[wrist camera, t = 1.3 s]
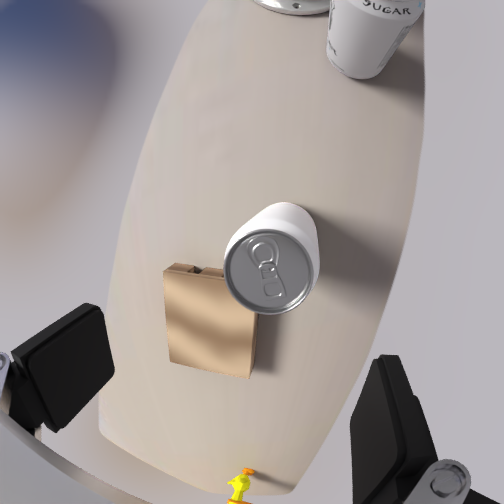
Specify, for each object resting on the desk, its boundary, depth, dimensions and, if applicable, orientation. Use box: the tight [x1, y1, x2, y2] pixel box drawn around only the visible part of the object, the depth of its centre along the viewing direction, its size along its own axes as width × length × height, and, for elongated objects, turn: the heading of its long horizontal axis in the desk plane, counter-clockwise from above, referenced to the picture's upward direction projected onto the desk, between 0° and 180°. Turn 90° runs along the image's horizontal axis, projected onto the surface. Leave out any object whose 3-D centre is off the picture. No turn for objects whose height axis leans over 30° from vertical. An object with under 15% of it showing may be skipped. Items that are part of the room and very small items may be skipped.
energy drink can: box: [326, 0, 425, 79], centre depth 15 cm, size 6×6×15 cm
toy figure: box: [227, 468, 254, 504], centre depth 36 cm, size 7×4×12 cm, turn 72°
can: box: [223, 202, 320, 315], centre depth 23 cm, size 6×6×12 cm
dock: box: [163, 263, 258, 379], centre depth 32 cm, size 12×10×3 cm
